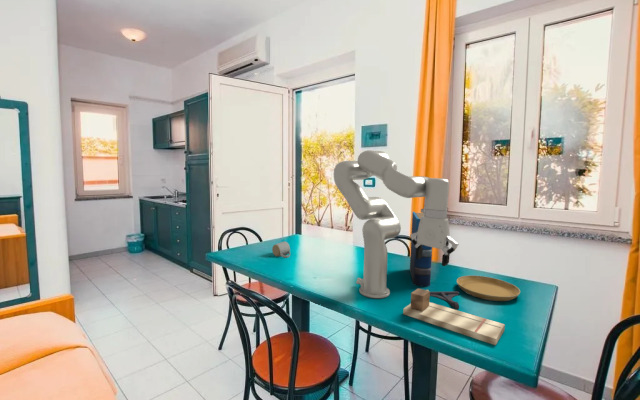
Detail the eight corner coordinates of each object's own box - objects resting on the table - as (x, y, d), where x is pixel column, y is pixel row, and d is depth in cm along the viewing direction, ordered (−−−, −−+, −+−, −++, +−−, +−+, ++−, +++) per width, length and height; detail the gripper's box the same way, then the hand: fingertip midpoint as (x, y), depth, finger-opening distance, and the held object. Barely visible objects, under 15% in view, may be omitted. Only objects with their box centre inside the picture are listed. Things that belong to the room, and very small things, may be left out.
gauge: (410, 307, 116) (411, 293, 115) (421, 299, 123) (422, 285, 122) (422, 311, 113) (423, 296, 112) (432, 303, 120) (433, 288, 120)
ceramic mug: (271, 255, 188) (271, 242, 187) (282, 252, 194) (282, 240, 193) (282, 259, 181) (283, 246, 180) (293, 256, 187) (294, 243, 186)
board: (403, 314, 116) (403, 308, 116) (417, 303, 125) (417, 298, 125) (495, 345, 96) (496, 338, 96) (504, 330, 105) (504, 324, 105)
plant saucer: (510, 285, 146) (511, 278, 146) (527, 308, 123) (528, 299, 123) (453, 279, 153) (453, 272, 153) (459, 299, 130) (460, 291, 130)
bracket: (438, 311, 120) (438, 303, 120) (423, 294, 135) (424, 288, 135) (475, 310, 121) (476, 303, 121) (457, 294, 136) (457, 288, 135)
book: (434, 288, 141) (438, 220, 138) (413, 286, 143) (417, 219, 140) (427, 270, 165) (430, 212, 162) (409, 269, 166) (412, 211, 163)
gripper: (407, 211, 115) (404, 257, 117) (455, 219, 103) (450, 270, 105) (418, 209, 120) (415, 254, 122) (464, 216, 108) (460, 265, 110)
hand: (431, 261), depth 114 cm, fingers open, 9 cm apart
